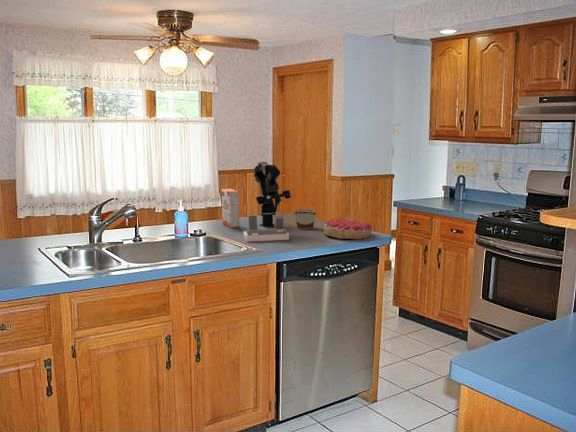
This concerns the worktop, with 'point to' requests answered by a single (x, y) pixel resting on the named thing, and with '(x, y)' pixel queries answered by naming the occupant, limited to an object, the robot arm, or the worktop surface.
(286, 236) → the switch panel
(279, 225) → the grey rectangular carton
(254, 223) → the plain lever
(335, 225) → the cake
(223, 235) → the worktop surface
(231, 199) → the cracker box
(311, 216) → the food container
